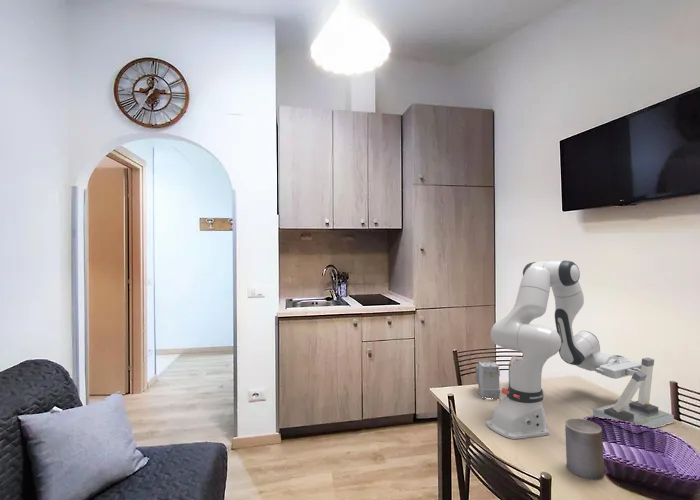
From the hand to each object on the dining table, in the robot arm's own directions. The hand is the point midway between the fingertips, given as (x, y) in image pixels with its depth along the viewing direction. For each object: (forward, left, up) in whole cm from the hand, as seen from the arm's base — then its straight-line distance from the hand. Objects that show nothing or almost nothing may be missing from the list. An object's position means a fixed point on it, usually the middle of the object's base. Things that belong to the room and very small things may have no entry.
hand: (643, 374), depth 145 cm
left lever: (-15, 0, -11) cm, 19 cm away
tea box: (-23, +39, -17) cm, 49 cm away
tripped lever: (0, 0, -11) cm, 11 cm away
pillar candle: (-55, -15, -17) cm, 60 cm away
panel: (-7, 0, -17) cm, 18 cm away
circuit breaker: (-39, +44, -17) cm, 62 cm away
